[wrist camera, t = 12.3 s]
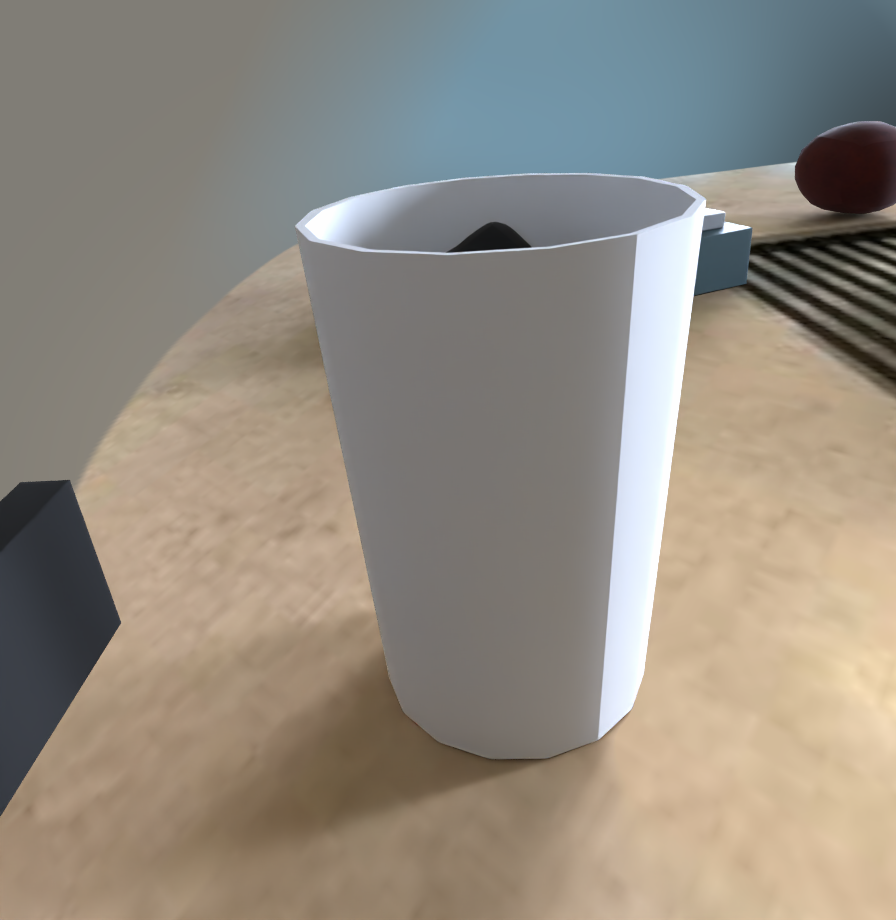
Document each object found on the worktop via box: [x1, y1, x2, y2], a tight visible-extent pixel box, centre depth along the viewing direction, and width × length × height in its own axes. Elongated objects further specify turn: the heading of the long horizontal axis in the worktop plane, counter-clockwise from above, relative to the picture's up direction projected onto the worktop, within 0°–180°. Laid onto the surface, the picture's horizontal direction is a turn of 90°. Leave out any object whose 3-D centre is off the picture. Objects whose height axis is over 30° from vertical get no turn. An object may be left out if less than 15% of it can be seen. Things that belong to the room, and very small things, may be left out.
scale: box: [693, 208, 752, 296], centre depth 43 cm, size 15×14×4 cm
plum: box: [795, 121, 896, 214], centre depth 53 cm, size 7×8×6 cm
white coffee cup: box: [295, 173, 706, 759], centre depth 15 cm, size 7×7×10 cm
